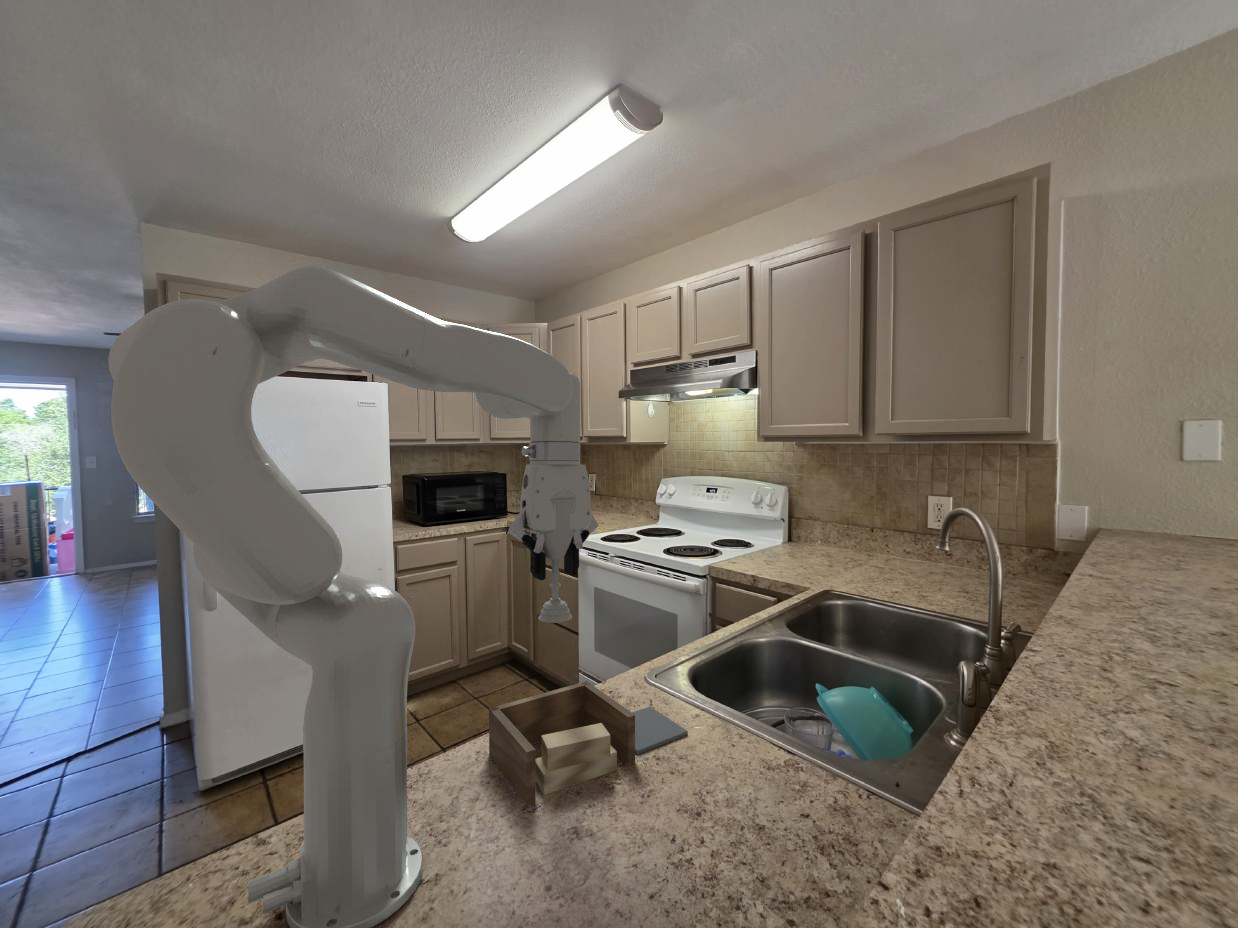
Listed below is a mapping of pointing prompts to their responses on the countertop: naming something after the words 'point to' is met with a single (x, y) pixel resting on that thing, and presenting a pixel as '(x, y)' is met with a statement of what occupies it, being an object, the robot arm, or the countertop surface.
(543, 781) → the offcut lower
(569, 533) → the chalice
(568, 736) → the offcut upper
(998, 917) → the countertop surface
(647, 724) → the slate tile
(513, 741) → the brown wooden u-shaped frame
